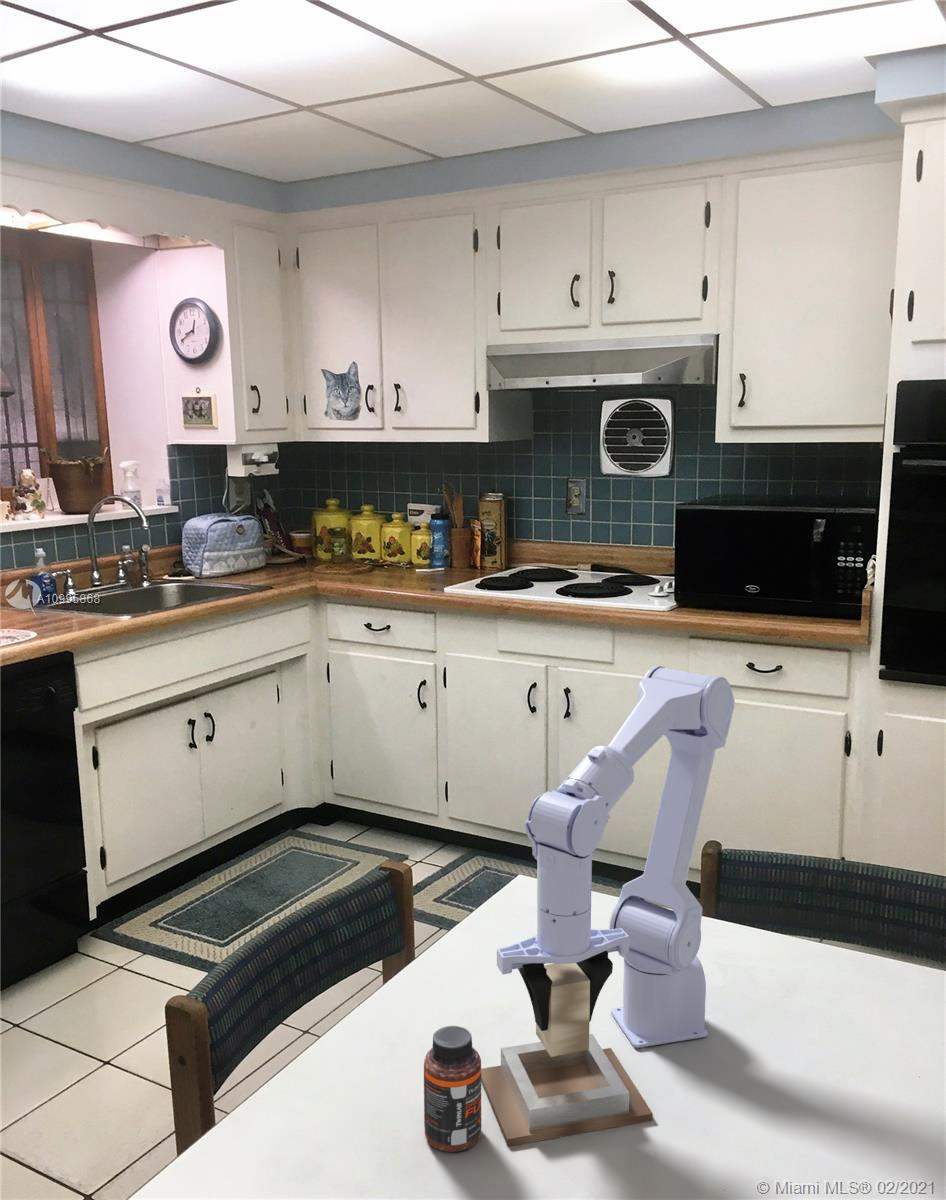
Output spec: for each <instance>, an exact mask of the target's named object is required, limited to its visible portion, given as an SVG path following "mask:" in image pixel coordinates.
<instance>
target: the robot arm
mask: <svg viewBox="0 0 946 1200" xmlns="http://www.w3.org/2000/svg"><path fill="white" fill-rule="evenodd" d="M730 684H731V683H730V682H729V681H728V679H727V678H725V677H724V676H720V675H719V676H718V675H715V676H713V675H707V674H702V673H695V672H691V671H685V670H678V669H674V668H668V667H665V666H661V665H653V666H652V667H651V668H649V669H648V671H647V672H646V673H645V674H644V676H643V678H642V679H641V680H640V681H639V683H638V688H637V697H636V698H637V699H636V704H635V706H634V707H633V709H632V710H631V712H630V713H629V715H628V716H627V718H626V719H625V721H624V722H623V724H622V725H621V726H620V728H619V729H618V730H617V732H616V733H615V735H614V737H613V738H612V739H611V741H610V742H609V743H608V745H596V746H594V747H592V748H591V749H590V751H589V752H588V753H587V754H586V755H585V756H584V757H583V759H582V760H581V761H580V762H579V763H578V764H577V765H576V767H575V768H574V769H573V770H572V771H571V772H570V774H569V775H568V776H567V777H566V778H565V779H564V781H563V782H562V783H561V784H560V785H559V786H558V787H557V789H556V790H554V789H553V790H549V791H548V790H547V791H546V792H544V793H541V794H540V795H538V796H536V798H535V799H534V800H533V802H532V803H531V805H530V808H529V810H528V814H527V820H526V821H525V823H524V829H525V833H526V836H527V837H528V840H529V841H530V842H531V845H532V847H531V849H532V854H531V855H532V856H533V857H534V859H535V860H536V862H537V863H536V864H537V865H536V866H537V870H536V871H537V874H536V880H537V881H536V889H537V890H536V896H537V897H536V898H537V899H536V906H537V909H536V920H537V921H536V935H533V936H531V937H529V938H527V939H524V940H521V941H519V942H516V943H513V944H511V945H508V946H505V947H500V948H497V949H496V967H497V969H498V970H499V971H500V973H501V974H502V975H507V974H512V972H513V970H518V971H519V973H520V976H521V977H522V980H523V982H524V984H525V988H526V989H527V992H528V996H529V999H530V1003H531V1006H532V1010H533V1014H534V1022H535V1024H536V1023H537V1025H538V1026H539V1028H540V1029H541V1031H545V1030H548V1023H549V1011H548V1004H549V995H550V989H551V985H552V982H553V981H552V980H551V979H550V977H549V976H548V975H547V969H546V968H545V967H544V965H547V964H555V963H556V964H569V963H576V964H577V965H578V966H579V967H580V969H581V970H582V971H583V972H584V974H585V975H586V976H587V977H588V979H589V980H590V1018H589V1023H590V1022H592V1017H593V1013H594V1010H595V1007H596V1005H597V1004H596V1003H597V1000H598V998H599V996H600V993H601V990H602V989H603V987H604V986H605V984H606V981H608V979H609V978H610V976H611V975H612V973H613V971H614V968H613V966H614V965H613V962H612V960H611V959H610V958H609V954H610V953H615V952H617V953H618V955H619V956H620V957H622V958H623V983H622V984H623V985H622V986H623V993H622V996H623V997H622V1006H619V1007H613V1008H611V1010H610V1014H611V1015H612V1017H613V1019H614V1020H615V1021H616V1023H617V1024H618V1026H619V1027H620V1029H621V1030H622V1031H623V1033H624V1035H625V1037H626V1038H627V1039H628V1041H629V1042H630V1043H631V1045H632V1046H633V1047H634V1048H636V1049H637V1048H646V1047H652V1046H657V1045H663V1044H664V1045H666V1044H671V1043H675V1042H681V1041H689V1040H695V1039H696V1040H697V1039H700V1038H706V1037H707V1036H708V1031H707V1030H706V1028H705V1024H706V1023H705V1022H706V1020H705V1019H706V1018H705V1017H706V996H707V986H706V985H707V982H706V976H705V972H704V968H703V965H702V963H701V961H700V959H699V957H698V956H697V955H698V953H699V950H700V948H701V947H700V946H701V943H702V942H701V941H702V928H701V926H702V925H701V924H702V917H703V907H702V905H701V903H700V902H699V901H698V900H697V898H696V896H695V895H694V894H693V893H692V892H691V890H690V889H689V887H688V886H687V884H686V883H687V879H688V875H689V872H690V870H689V869H690V867H691V861H692V857H693V852H694V848H695V843H696V840H697V835H698V830H699V825H700V821H701V816H702V814H703V813H702V812H703V808H704V805H705V799H706V795H707V790H708V785H709V781H710V778H711V777H710V776H711V773H712V768H713V763H714V758H715V753H716V750H718V749H720V748H724V747H725V745H726V742H727V737H728V735H729V730H730V726H731V722H732V717H733V715H734V714H733V713H734V709H735V703H736V702H735V697H734V694H733V691H732V688H731V685H730ZM663 736H664V737H666V739H667V741H668V743H669V745H670V747H671V752H670V753H671V754H670V757H669V762H668V765H667V769H666V774H665V779H664V784H663V787H662V792H661V796H660V800H659V806H658V809H657V814H656V818H655V823H654V826H653V827H654V828H653V832H652V835H651V840H650V845H649V847H648V849H649V850H648V854H647V858H646V861H645V866H644V871H643V874H642V875H640V876H638V877H636V878H634V879H632V880H630V881H628V882H626V883H624V884H623V885H622V887H621V892H620V895H619V897H618V899H617V902H616V904H615V905H614V907H613V909H612V912H611V914H610V918H609V922H608V929H604V928H603V929H601V928H599V929H596V928H593V929H592V878H593V877H592V876H593V875H592V873H593V871H592V869H593V868H592V867H593V863H592V862H593V852H594V851H595V850H596V849H597V848H598V847H599V845H600V843H601V841H602V839H603V835H604V831H605V827H606V826H607V824H608V823H609V820H610V814H609V813H610V812H611V810H612V809H613V808H614V806H615V805H616V804H617V803H618V801H620V799H621V798H622V797H623V795H624V794H625V793H626V792H627V790H628V789H629V788H630V787H631V786H632V785H633V782H634V780H635V773H634V768H633V766H635V765H636V763H637V762H638V761H640V759H641V758H642V757H644V755H645V754H646V753H647V752H648V751H649V750H650V749H651V748H653V746H654V745H655V744H656V743H657V742H658V741H659V740H660V739H661V738H662V737H663ZM647 900H648V901H647ZM652 902H653V903H652ZM658 904H659V905H658ZM661 905H662V906H661ZM663 906H664V907H663ZM666 907H667V908H666Z"/></svg>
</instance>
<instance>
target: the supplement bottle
mask: <svg viewBox="0 0 946 1200" xmlns="http://www.w3.org/2000/svg"><path fill="white" fill-rule="evenodd" d="M472 1039H473V1038H472V1033H471V1032H470V1030H468V1029H467V1028H465V1027H462V1026H459V1025H458V1026H457V1025H448V1026H447V1025H446V1026H443V1027H441V1028H438V1029H437V1030H436V1031H435V1032H434V1033H433V1036H432V1045H431V1046H432V1048H430V1049H429V1050H428V1051H427V1053H426V1054H425V1057H424V1060H423V1108H424V1109H423V1112H424V1113H423V1114H424V1115H423V1119H424V1120H423V1122H424V1136H425V1139H426V1141H427V1142H428V1144H429V1145H431V1146H432V1147H433V1148H435V1149H436V1150H437V1149H438V1150H439V1151H443V1152H448V1153H449V1152H451V1153H457V1152H462V1151H465V1150H467V1149H469V1148H471V1147H473V1146H474V1145H475V1144H476V1143H477V1142H478V1141H479V1139H480V1137H481V1134H482V1083H481V1069H482V1058H481V1055H480V1054H479V1052H478V1051H477V1050H476V1049H475V1048H474V1047H473V1040H472Z"/></svg>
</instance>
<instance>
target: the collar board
mask: <svg viewBox="0 0 946 1200" xmlns="http://www.w3.org/2000/svg"><path fill="white" fill-rule="evenodd" d="M481 1086H482V1088H483V1090H484V1093H485V1095H486V1098H487V1100H488V1102H489V1105H490V1107H491V1109H492V1112H493V1114H494V1117H495V1120H496V1122H497V1124H498V1127H499V1130H500V1131H501V1134H502V1137H503V1140H504V1141H505V1144H506V1146H507V1147H511V1146H516V1145H521V1144H527V1143H533V1142H538V1141H544V1140H545V1141H546V1140H549V1139H556V1138H560V1137H566V1136H571V1135H572V1136H573V1135H579V1134H584V1133H589V1132H594V1131H600V1130H601V1131H602V1130H605V1129H611V1128H616V1127H621V1126H622V1127H623V1126H627V1125H632V1124H638V1123H645V1122H650V1121H653V1119H654V1118H653V1111H652V1110H651V1108H650V1107H649V1105H648V1104H647V1102H646V1101H645V1099H644V1098H643V1096H642V1094H641V1093H640V1091H639V1089H638V1088H637V1086H636V1085H635V1083H634V1082H633V1081H632V1079H631V1077H630V1075H629V1074H628V1073H627V1071H626V1069H625V1068H624V1066H623V1064H622V1063H621V1062H620V1060H619V1058H618V1057H617V1055H616V1054H615V1053H614V1050H613V1048H612V1047H608V1048H602V1047H601V1045H600V1044H599V1042H598V1041H597V1039H596V1037H595V1036H594V1033H589V1049H588V1050H583V1051H578V1052H573V1053H568V1054H563V1055H558V1056H553V1057H551V1056H550V1055H549V1053H548V1052H547V1050H546V1049H545V1047H544V1045H543V1044H542V1042H541V1041H537V1042H532V1043H525V1044H519V1045H513V1046H507V1047H500V1065H496V1066H489V1067H483V1068H482V1067H481Z"/></svg>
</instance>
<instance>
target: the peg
mask: <svg viewBox="0 0 946 1200" xmlns="http://www.w3.org/2000/svg"><path fill="white" fill-rule="evenodd" d="M544 967H545V968H546V969H547V975H548V976H549V977H550V979H551V980H552V981H553V982H552V985H551V989H550V995H549V1004H548V1011H549V1023H548V1030H545V1031H541V1029H540V1028H539V1026H538V1025H537V1023H536V1022H535V1035H536V1036H537V1038H538V1040H540V1041H539V1042H542V1044H543V1045H544V1047H545V1049H546V1050H547V1052H548V1053H549V1055H550V1056H551V1057H553V1056H558V1055H563V1054H568V1053H573V1052H578V1051H583V1050H588V1049H589V1034H590V1022H589V1018H590V980H589V979H588V977H587V976H586V975H585V974H584V972H583V971H582V970H581V969H580V967H579V966H578V965H577V964H576V963H569V964H556V963H548V964H544Z"/></svg>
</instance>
